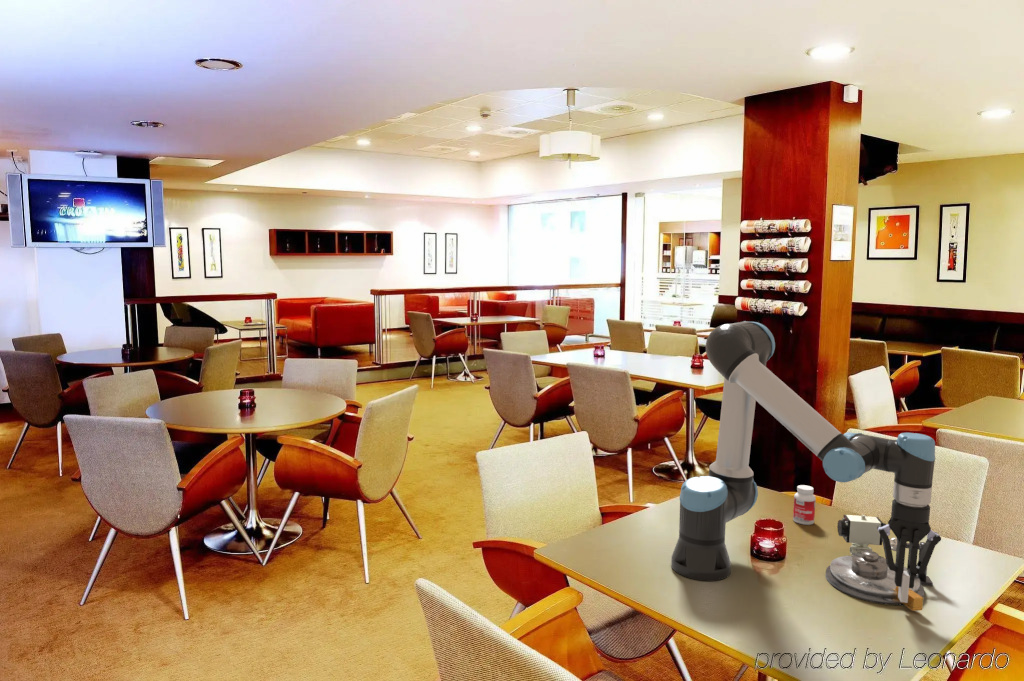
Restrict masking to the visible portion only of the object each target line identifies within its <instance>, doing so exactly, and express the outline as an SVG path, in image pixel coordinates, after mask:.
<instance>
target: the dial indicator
mask: <svg viewBox="0 0 1024 681" xmlns="http://www.w3.org/2000/svg"><path fill="white" fill-rule="evenodd" d="M889 540H890V545H891V550H892V551H893V552H896V550H897V537H891V538H889ZM925 543H926V541H925V542H924V541H920V542H919V548H918V558H917V561H918V560H919V558H920V555H921V553H922V550H923V548H924V545H925ZM905 549H909V542H907V544H906V548H905ZM927 570H928V567H927V568H926V570H925V573H924V574H916V575H917V576H918V577H919V579H920V583H921V584H922V586H930V587H933V585H934V583H933V580H932V579H931V578H930V576H928V575H927V574H928V573H927V572H928V571H927Z"/></svg>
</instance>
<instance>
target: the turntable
mask: <svg viewBox="0 0 1024 681" xmlns="http://www.w3.org/2000/svg"><path fill="white" fill-rule="evenodd" d="M894 564H895V562H894ZM830 565H831V566H830ZM830 565H829V566H830V573H831V575H832V577H833V578H834V579H835V580H836V581H838V582H839V583H841V584H842V585H844V586H846V587H848V588H851V589H853V590H856V591H859V592H862V593H865V594H869V595H873V596H879V597H887V598H895V599H897V600H898V601H900V600H899V598H898V590H899V587H898V586H896V584H895V582H894V581H895V571H892V570H890V569H889V567H888V571H887V577H886V578H885V579H881V580H874V579H868V578H864V577H861V576H858V575H856V574H855V573H853V572H852V570H851V568H852V555H843V556H839V557H838V556H837V557H836V558H834V559H832V560H831V562H830ZM904 571H908V570H907V566H904ZM919 589H920V579H919V577H918V576H916V577H915V579H914V587H913V588H909V592H908V603H904V602H901V603H902V604H904V605H903V606H905V607H907V609H909V610H911V611H913V612H917V611H923V608H924V607H923V606H924V597H921V596H920V595H918V594H917V593H918V592H919Z"/></svg>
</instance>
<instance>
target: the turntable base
mask: <svg viewBox="0 0 1024 681" xmlns="http://www.w3.org/2000/svg"><path fill="white" fill-rule="evenodd" d="M830 566H831V564H829V565H828V566H827V567H826V569H825V579H826V581H827V582H828V583H829V584H830V585H831V586H832V587H833V588H835V589H836V590H838V591H840V592H841V593H843V594H845V595H848V596H850V597H853V598H856V599H858V600H862V601H865V602H869V603H874V604H880V605H886V606H905V605H904V604H902V603H901V602H900V601H898V600H897V599H895V598H887V597H879V596H873V595H869V594H865V593H862V592H859V591H856V590H853V589H851V588H848V587H846V586H844V585H842V584H841V583H839V582H838V581H836V580H835V579H834V578H833V577H832V575H831V573H830ZM917 594H918V595H920V596H921V597H923V598H925V588H924V585H922V584H921V583H920V589H919V592H918V593H917Z"/></svg>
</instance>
